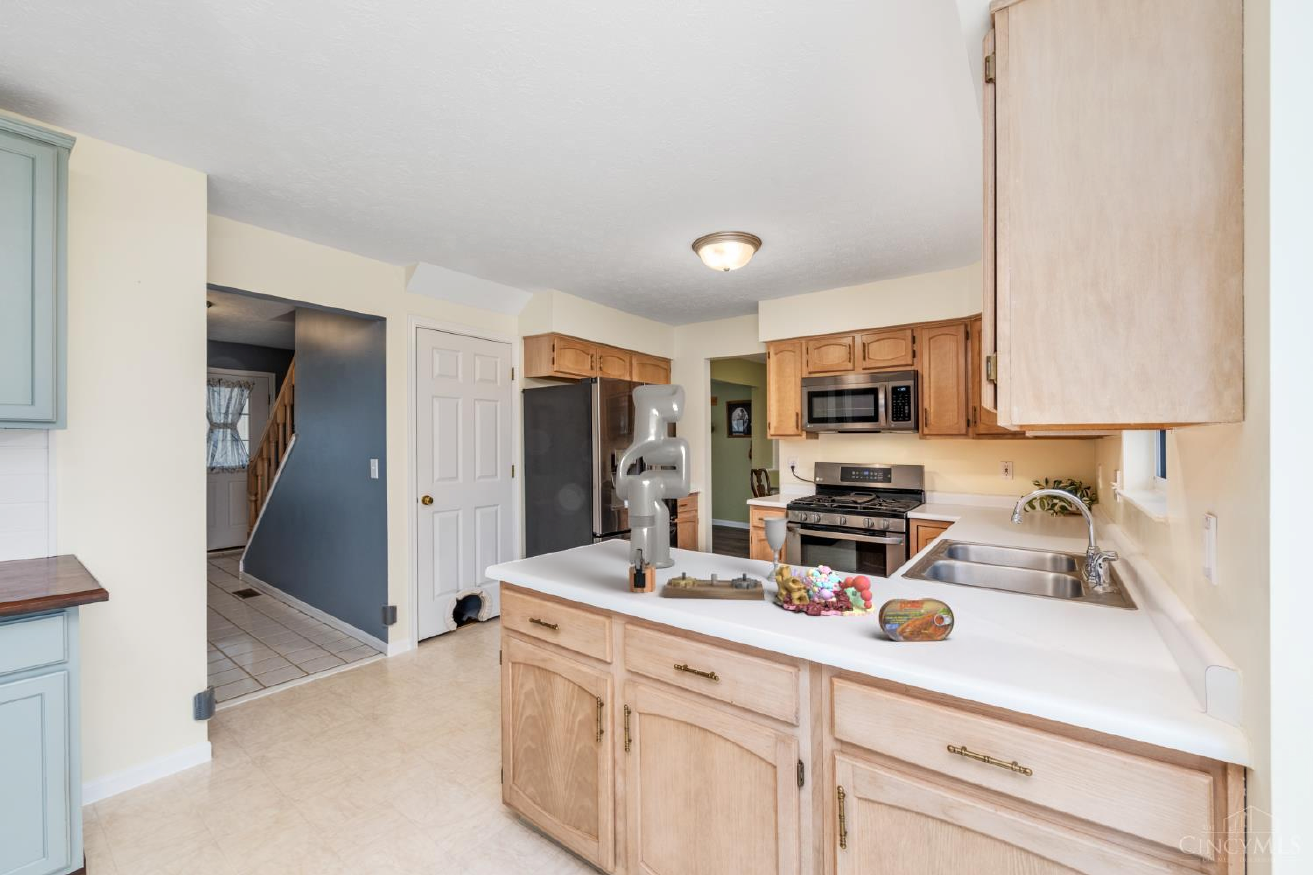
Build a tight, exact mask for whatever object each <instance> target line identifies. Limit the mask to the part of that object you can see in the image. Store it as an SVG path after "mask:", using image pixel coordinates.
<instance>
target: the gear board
mask: <svg viewBox="0 0 1313 875" xmlns="http://www.w3.org/2000/svg"><path fill="white" fill-rule="evenodd" d="M663 592H664V593H663V594H664V597H663V598H664V599H691V600H693V599H694V600H695V599H697V600H699V599H701V600H732V601H733V600H739V601H741V600H742V601H743V600H744V601H746V600H747V601H765V590H764V586H763V582H762V580H758V579H756V578H754V579H753V578H751V577H747V573H742V577H737V578H732V579H730V580H727V579H723V580H721V579H720V580H719V579H718V574H717V573H711V575H710V579H697V578H696V577H691V576H687V575H686V572H682V573H681V576H677V577H672V578H669V579H668V580H667V582H666V585H665V588H664V591H663Z"/></svg>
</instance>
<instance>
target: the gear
mask: <svg viewBox="0 0 1313 875" xmlns="http://www.w3.org/2000/svg"><path fill="white" fill-rule="evenodd" d="M644 573H646V587H645V588H634V566H630V567H629V568H628V587H629V588H628V589H629V590H628V591H629V592H633V593H634V594H635V593H637V594H638V593H643V594H645V593H648V592H654V591H656V590H655V589H656V568H655V567H651V566H650V565H646V566H645V572H644Z"/></svg>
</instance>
